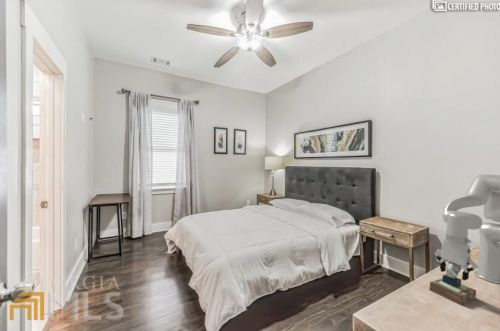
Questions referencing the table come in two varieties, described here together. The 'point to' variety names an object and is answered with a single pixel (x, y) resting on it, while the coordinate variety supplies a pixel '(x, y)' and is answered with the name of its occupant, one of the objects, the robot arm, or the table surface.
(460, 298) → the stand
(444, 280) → the watch
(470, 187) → the robot arm
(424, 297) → the table surface
